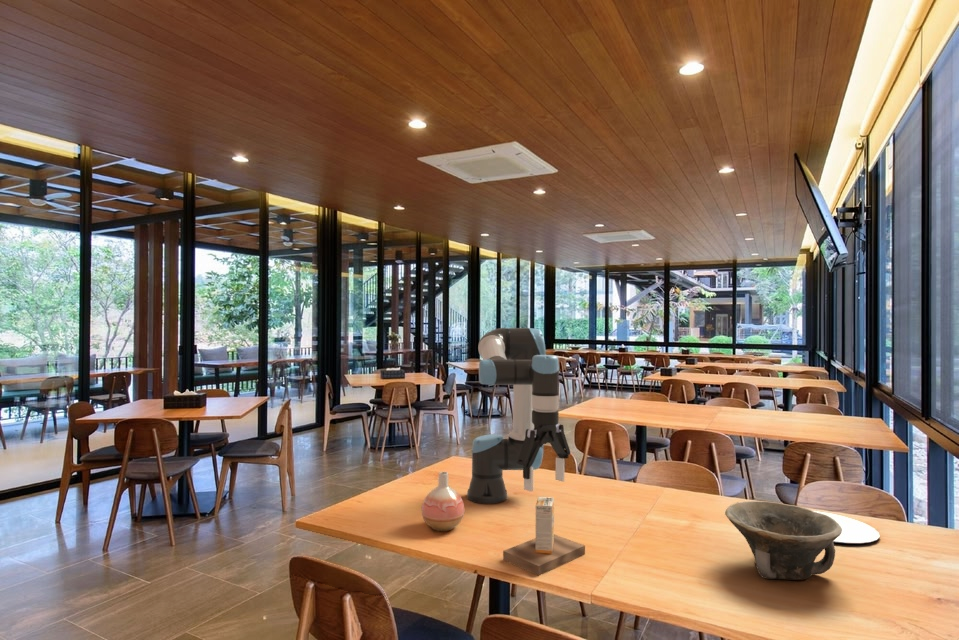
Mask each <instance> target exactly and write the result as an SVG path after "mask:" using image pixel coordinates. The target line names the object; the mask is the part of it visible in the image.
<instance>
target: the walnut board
mask: <svg viewBox="0 0 959 640" xmlns="http://www.w3.org/2000/svg"><path fill="white" fill-rule="evenodd" d="M535 547H536V537H535V538H533V539H530V540H526V541H525V542H522V543H519V544H517V545H515V546H512V547H510V548H507V549H505V550H502V560H503V561H504V562H507V563H509V564H512V565H513V566H516V567H518V568H521V569H523V570H524V571H527V572H529V573H532V574H534V575H536V576H539V577H540V576H541V574H542V575H544V574H546V573H548V572H550V571H552V570H555V569H557V568H558V567H560V566H563V565H566V564H567V563H569V562H572V561H573V560H575V559H577V558H580V557H583V556H584V555H586V545H585V544H582V543H579V542H577V541H574V540H571V539H568V538H565V537H564V536H560V535H557V534H555V533H554V543H553V547H552V554H547V553H536V552H535Z"/></svg>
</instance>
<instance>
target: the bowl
mask: <svg viewBox="0 0 959 640" xmlns="http://www.w3.org/2000/svg"><path fill="white" fill-rule="evenodd" d="M814 511H815V510H811V509H808V508H806V507H802V506H799V505H793V504H786V503H783V502H782V503H779V502H773V501H765V500H764V501H763V500H761V501H759V500H757V501H756V500H753V501H752V500H751V501H750V500H749V501H740V502H739V501H738V502H735V503H733V504H730V505H729V506H728V507H727V508H726V509H725V512H724V513H725V514H724V515H725V517H726V518H727V519H728V521H730V523H731V524H732V525H733V526H734V527H735V528H736V529H737V530H738V532H739V533H740V534H742V535H741V536H743V537H744V539H745V540H746V542H747V544H748V546H749V548H750V551H751V553H752V555H753V557H754V566H756V570H757V572H758V574H759V575H760V577H762V578H765V579H775V580H790V581H793V580H794V581H796V580H797V581H799V580H800V581H803V580H807V579H809V578H811V577H812V575H813V576H814V575H821V574H824V573H826V572H827V571H829V570H830V569H831V568H832V566H833V564H834V561H835V557H836V548H835V542H833V541H834V540H835V539H836V538H837V537H839V536H840V535H841V533H842V528H841V526H840V525H839V524H838V523H837V522H836V521H835V520H834V519H832V518H831V517H829V516H827V515H825V514H821V513H817V512H814ZM823 551H824V555H823V557H822V558H821V559H820V560H818V561H815V560H816V559H817V557H818V556H819V555H820V554H821V553H822V552H823Z"/></svg>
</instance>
